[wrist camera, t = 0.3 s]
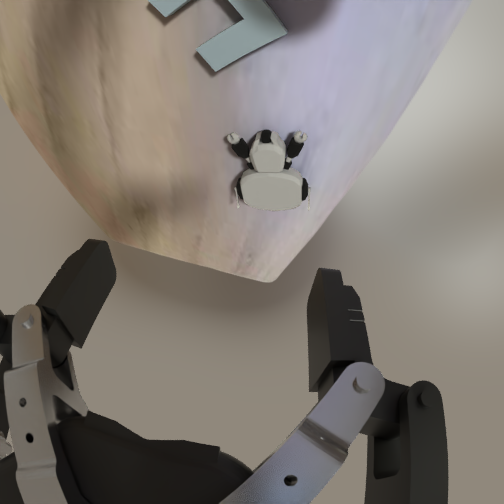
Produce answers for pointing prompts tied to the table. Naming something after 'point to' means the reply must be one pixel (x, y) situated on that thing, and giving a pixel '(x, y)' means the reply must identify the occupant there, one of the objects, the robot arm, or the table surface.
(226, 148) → the table surface
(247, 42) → the notched board
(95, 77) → the table surface
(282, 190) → the robot toy
